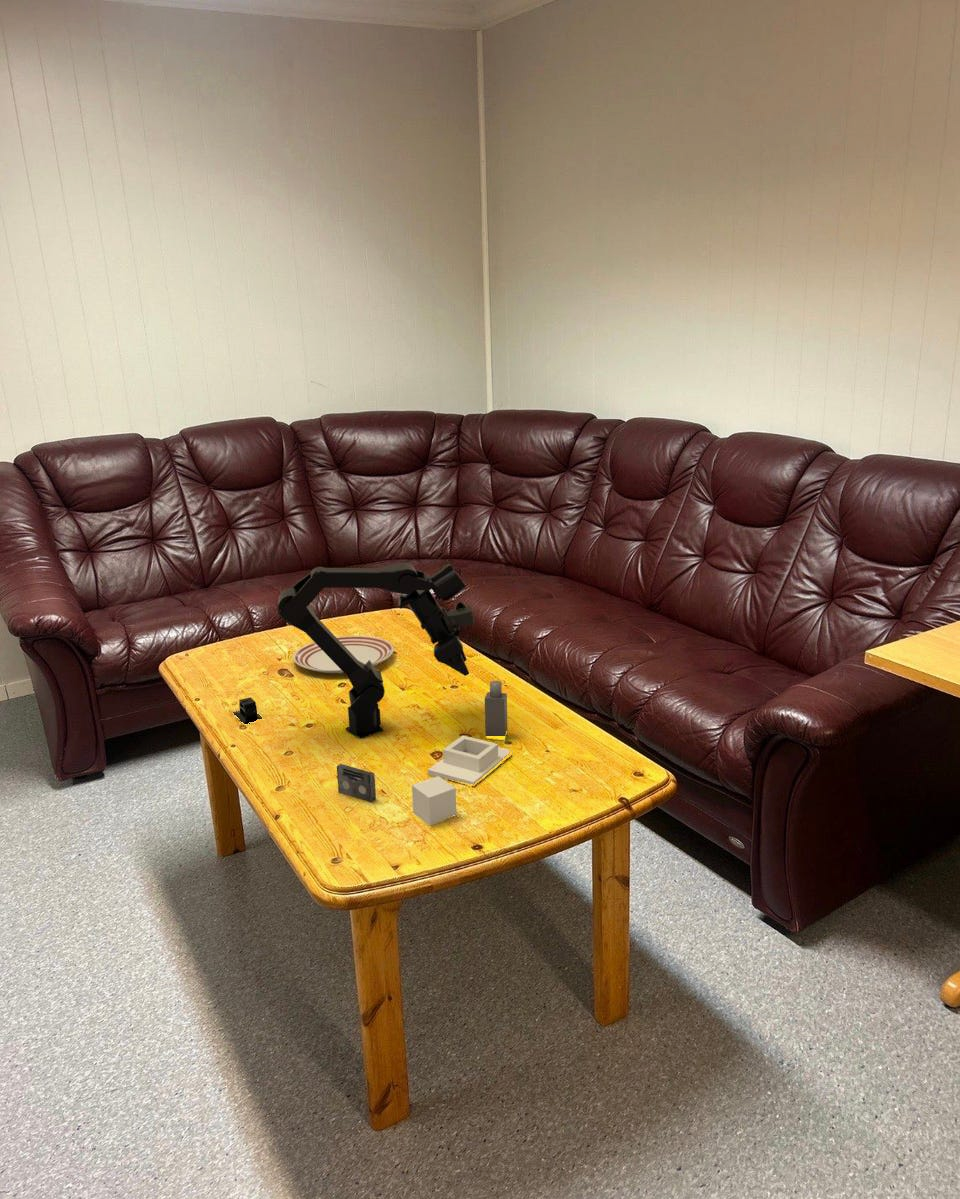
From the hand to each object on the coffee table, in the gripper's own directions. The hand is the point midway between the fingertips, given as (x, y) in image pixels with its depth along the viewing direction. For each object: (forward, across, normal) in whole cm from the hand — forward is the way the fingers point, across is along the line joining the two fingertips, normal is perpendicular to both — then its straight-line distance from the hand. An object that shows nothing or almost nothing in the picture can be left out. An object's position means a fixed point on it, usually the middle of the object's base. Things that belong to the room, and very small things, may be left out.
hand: (466, 667), depth 211 cm
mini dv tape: (+1, -31, +28) cm, 42 cm away
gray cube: (+9, -40, +15) cm, 43 cm away
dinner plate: (-5, +45, +34) cm, 56 cm away
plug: (+15, -7, +2) cm, 17 cm away
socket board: (+12, -20, +8) cm, 25 cm away
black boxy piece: (-14, +10, +52) cm, 55 cm away
